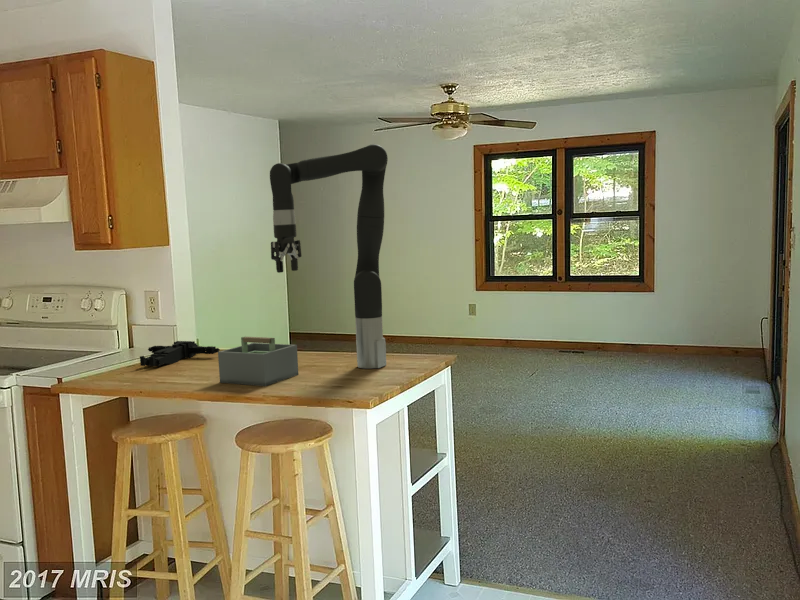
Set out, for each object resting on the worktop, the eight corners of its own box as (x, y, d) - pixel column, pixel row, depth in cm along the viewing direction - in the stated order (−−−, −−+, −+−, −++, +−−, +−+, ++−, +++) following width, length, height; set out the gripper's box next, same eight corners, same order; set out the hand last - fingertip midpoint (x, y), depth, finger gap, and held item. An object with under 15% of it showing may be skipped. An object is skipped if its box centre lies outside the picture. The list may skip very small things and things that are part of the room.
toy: (109, 354, 262) (158, 337, 290) (111, 371, 263) (159, 353, 291) (183, 355, 253) (226, 338, 282) (185, 373, 254) (227, 354, 283)
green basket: (284, 373, 236) (282, 335, 235) (264, 380, 227) (262, 341, 225) (255, 371, 242) (253, 334, 240) (234, 377, 232) (232, 339, 231)
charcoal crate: (298, 374, 238) (296, 344, 237) (265, 386, 222) (263, 354, 221) (254, 371, 246) (253, 342, 245) (219, 382, 230) (217, 351, 229)
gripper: (281, 223, 234) (284, 273, 236) (305, 222, 247) (308, 269, 249) (262, 224, 238) (265, 273, 239) (287, 223, 250) (290, 270, 252)
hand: (287, 271), depth 244 cm, fingers open, 8 cm apart
